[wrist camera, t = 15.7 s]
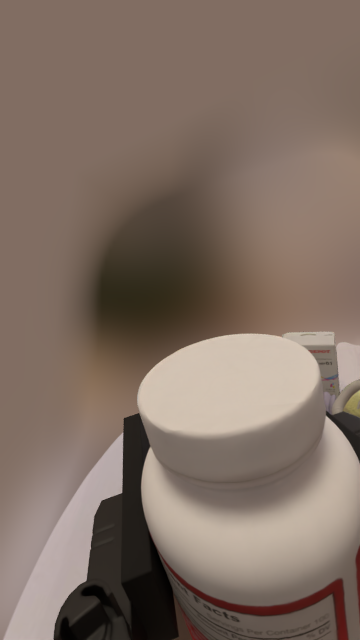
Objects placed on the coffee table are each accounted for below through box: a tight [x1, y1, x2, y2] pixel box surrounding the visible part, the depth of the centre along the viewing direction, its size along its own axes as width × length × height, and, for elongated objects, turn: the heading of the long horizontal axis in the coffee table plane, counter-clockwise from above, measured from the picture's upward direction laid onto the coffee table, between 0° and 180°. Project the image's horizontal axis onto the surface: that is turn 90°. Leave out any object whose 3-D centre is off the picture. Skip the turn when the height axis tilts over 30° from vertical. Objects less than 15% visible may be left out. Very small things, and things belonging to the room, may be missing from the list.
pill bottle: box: [137, 334, 360, 640], centre depth 9 cm, size 6×6×11 cm
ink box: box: [282, 332, 339, 399], centre depth 48 cm, size 9×5×12 cm, turn 63°
